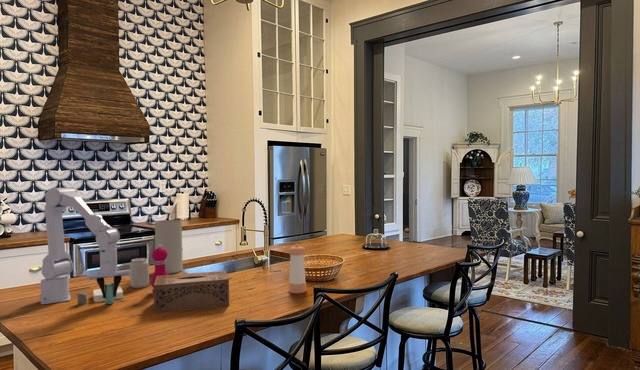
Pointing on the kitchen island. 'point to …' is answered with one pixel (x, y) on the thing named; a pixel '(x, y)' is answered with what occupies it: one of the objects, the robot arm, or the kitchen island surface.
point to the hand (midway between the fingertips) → (109, 296)
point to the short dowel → (82, 298)
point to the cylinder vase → (170, 243)
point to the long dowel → (109, 293)
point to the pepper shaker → (297, 270)
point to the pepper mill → (159, 263)
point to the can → (139, 273)
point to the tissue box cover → (191, 291)
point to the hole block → (99, 297)
